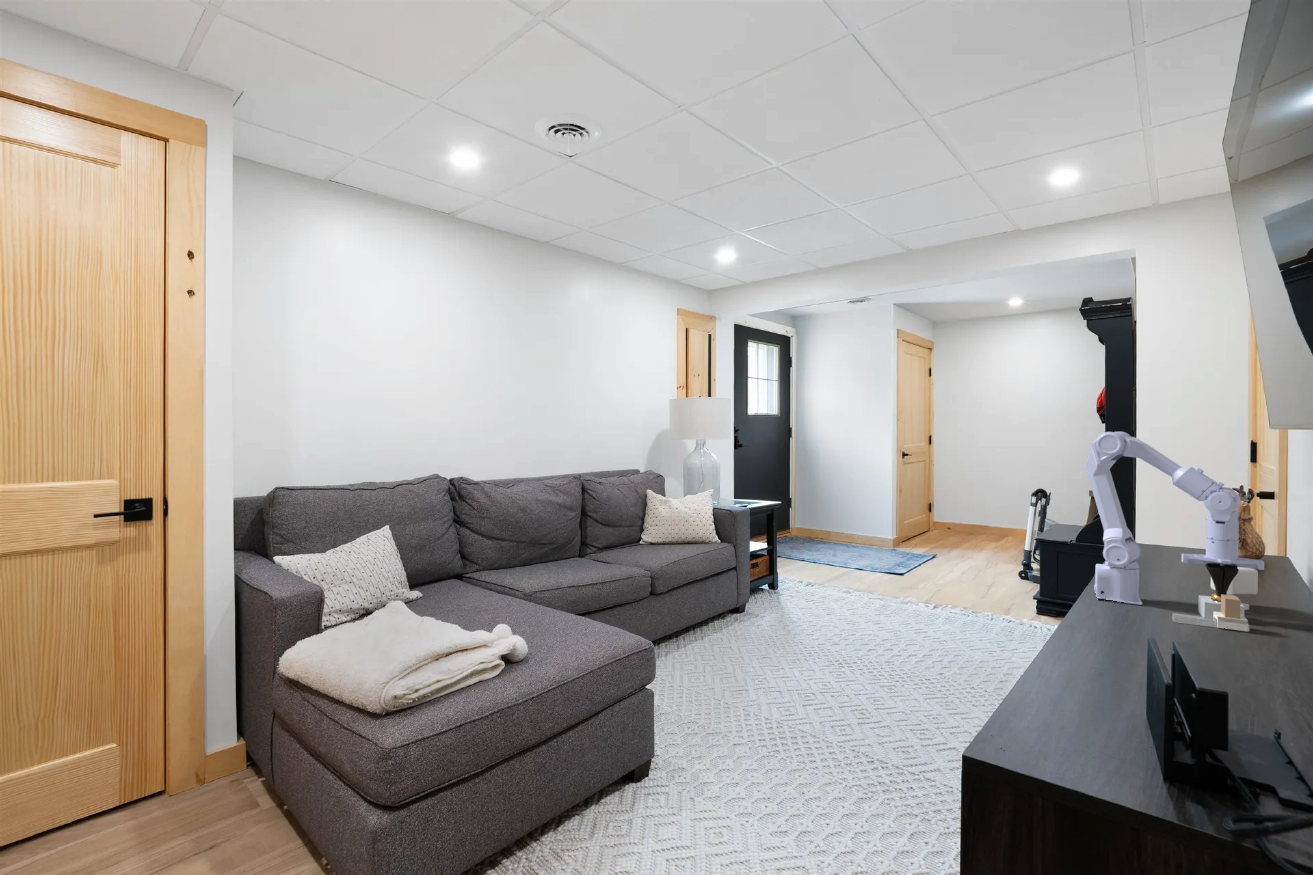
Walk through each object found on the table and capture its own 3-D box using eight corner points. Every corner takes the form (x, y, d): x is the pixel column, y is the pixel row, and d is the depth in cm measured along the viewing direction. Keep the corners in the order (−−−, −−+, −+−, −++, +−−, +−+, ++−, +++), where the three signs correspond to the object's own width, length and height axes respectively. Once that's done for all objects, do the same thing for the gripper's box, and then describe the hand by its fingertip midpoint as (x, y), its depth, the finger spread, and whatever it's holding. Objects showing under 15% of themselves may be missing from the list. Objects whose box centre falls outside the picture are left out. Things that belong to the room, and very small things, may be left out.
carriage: (1217, 627, 140) (1218, 597, 140) (1213, 622, 144) (1213, 593, 144) (1247, 631, 138) (1248, 601, 138) (1242, 625, 142) (1242, 596, 141)
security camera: (1257, 610, 154) (1258, 570, 154) (1228, 610, 154) (1229, 570, 154) (1234, 602, 160) (1235, 564, 160) (1206, 602, 161) (1207, 564, 160)
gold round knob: (1212, 614, 148) (1213, 596, 148) (1209, 610, 151) (1209, 592, 151) (1231, 616, 146) (1232, 598, 146) (1228, 613, 149) (1228, 594, 149)
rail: (1174, 622, 145) (1174, 615, 145) (1172, 619, 147) (1172, 612, 147) (1249, 631, 138) (1249, 625, 138) (1246, 628, 140) (1246, 622, 140)
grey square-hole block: (1204, 618, 148) (1204, 602, 147) (1198, 611, 153) (1198, 594, 153) (1244, 623, 144) (1244, 606, 144) (1236, 615, 150) (1236, 599, 150)
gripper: (1185, 538, 149) (1184, 595, 149) (1268, 544, 141) (1267, 604, 141) (1180, 534, 155) (1179, 588, 155) (1259, 539, 147) (1258, 597, 147)
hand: (1220, 595), depth 148 cm, fingers closed, pressing on gold round knob
